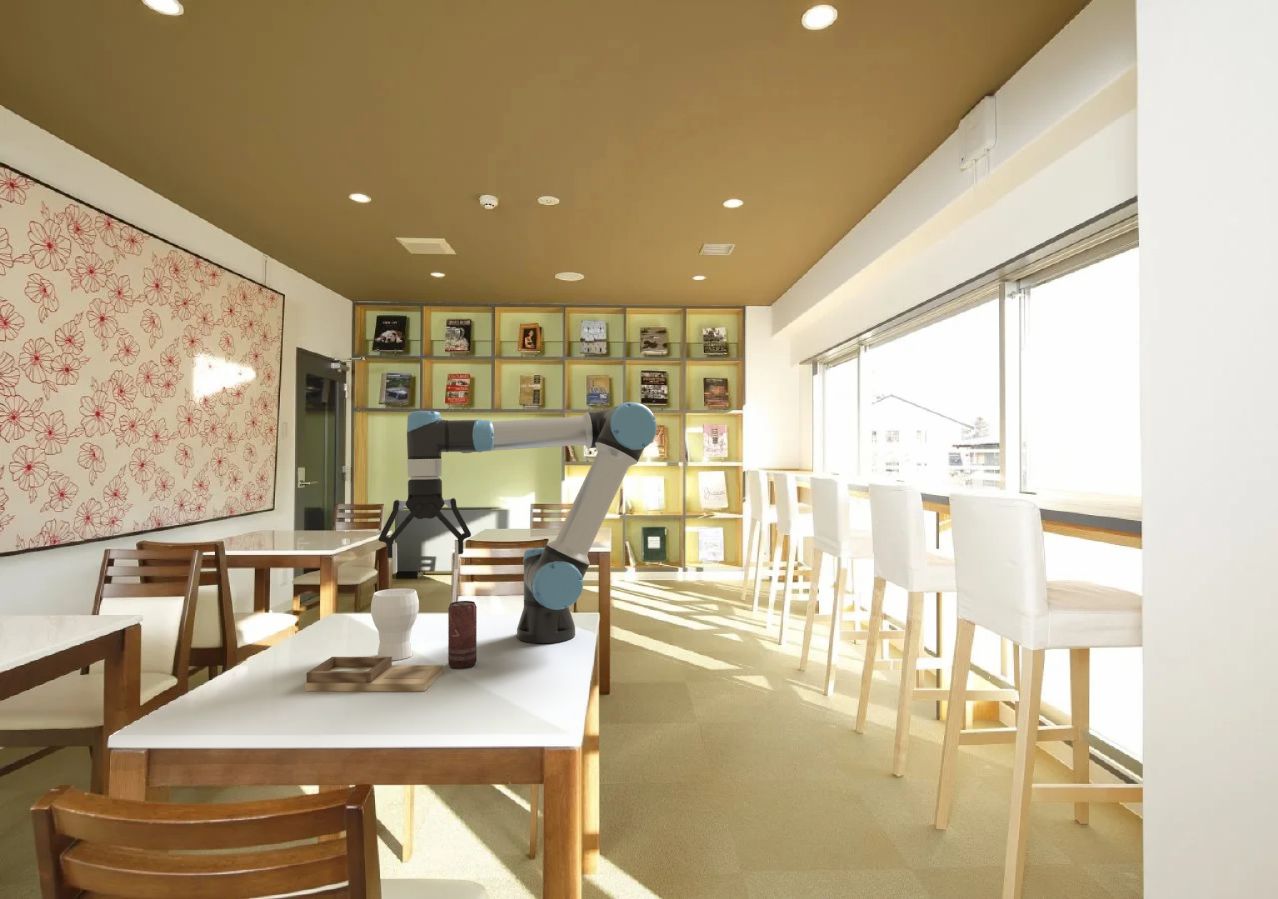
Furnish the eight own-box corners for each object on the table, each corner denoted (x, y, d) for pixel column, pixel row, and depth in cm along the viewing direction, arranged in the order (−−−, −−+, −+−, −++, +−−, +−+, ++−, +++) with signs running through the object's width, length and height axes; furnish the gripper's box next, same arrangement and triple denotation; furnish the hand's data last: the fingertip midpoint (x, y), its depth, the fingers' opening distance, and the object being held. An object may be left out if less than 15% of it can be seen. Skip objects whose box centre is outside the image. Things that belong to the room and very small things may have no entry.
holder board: (443, 672, 146) (443, 656, 146) (424, 691, 134) (424, 673, 134) (333, 672, 146) (333, 656, 146) (305, 691, 134) (305, 673, 134)
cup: (360, 659, 156) (360, 594, 156) (396, 647, 165) (396, 586, 165) (393, 665, 151) (393, 598, 151) (428, 653, 160) (428, 590, 160)
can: (470, 670, 147) (470, 606, 147) (443, 668, 148) (443, 605, 149) (482, 662, 153) (482, 600, 153) (456, 660, 154) (456, 599, 155)
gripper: (479, 476, 162) (481, 564, 162) (369, 479, 155) (370, 571, 155) (480, 477, 155) (482, 569, 154) (364, 480, 148) (366, 576, 148)
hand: (426, 570), depth 155 cm, fingers open, 13 cm apart
